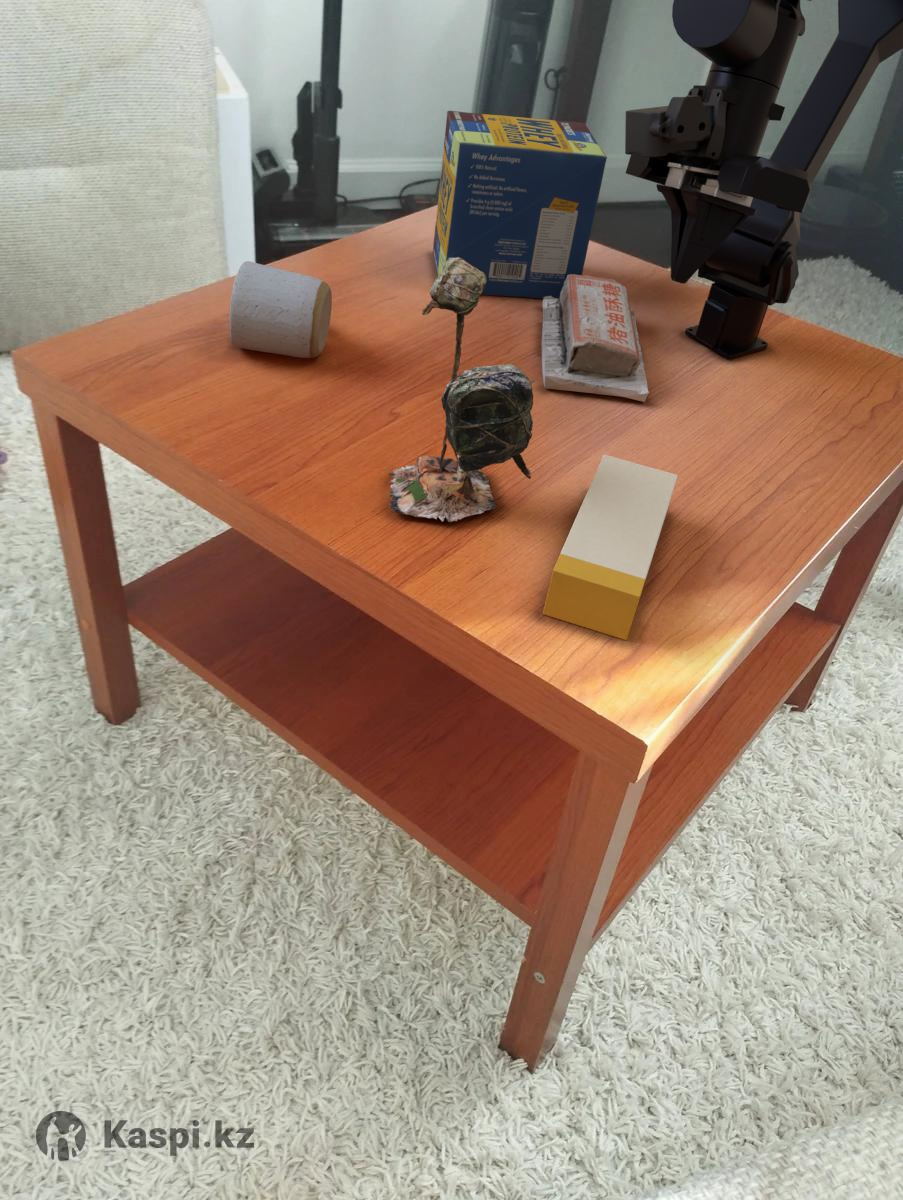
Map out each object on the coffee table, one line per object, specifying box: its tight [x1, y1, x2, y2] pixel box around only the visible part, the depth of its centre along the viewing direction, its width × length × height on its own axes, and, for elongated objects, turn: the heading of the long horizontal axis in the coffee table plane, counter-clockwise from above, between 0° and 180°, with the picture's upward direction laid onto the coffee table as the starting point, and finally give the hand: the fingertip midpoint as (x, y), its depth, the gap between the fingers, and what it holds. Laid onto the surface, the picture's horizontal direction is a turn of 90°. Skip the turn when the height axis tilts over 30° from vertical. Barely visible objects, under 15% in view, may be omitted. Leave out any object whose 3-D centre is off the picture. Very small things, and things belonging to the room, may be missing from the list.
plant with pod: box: [387, 257, 535, 523], centre depth 72 cm, size 8×11×20 cm
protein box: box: [432, 110, 608, 300], centre depth 106 cm, size 10×15×16 cm
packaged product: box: [541, 274, 650, 403], centre depth 98 cm, size 18×5×10 cm
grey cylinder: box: [228, 260, 333, 359], centre depth 92 cm, size 11×8×8 cm
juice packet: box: [542, 454, 679, 641], centre depth 73 cm, size 4×6×16 cm
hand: (677, 282), depth 84 cm, fingers closed
